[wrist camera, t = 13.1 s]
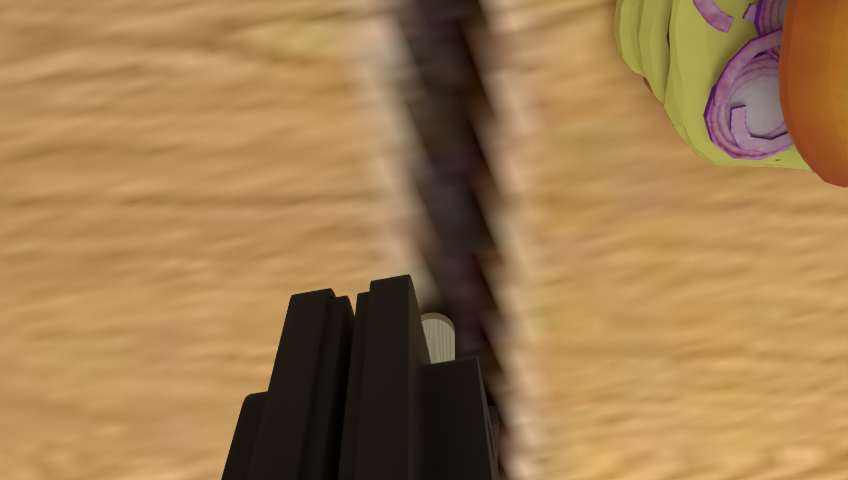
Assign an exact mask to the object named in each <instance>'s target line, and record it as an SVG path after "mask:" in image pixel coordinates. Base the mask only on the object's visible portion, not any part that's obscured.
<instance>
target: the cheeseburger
mask: <svg viewBox="0 0 848 480" xmlns="http://www.w3.org/2000/svg"><path fill="white" fill-rule="evenodd" d="M613 31H614V35H615V39H616V43H617V46H618V50H619V54H620V56H621V58H622V59H623V60H624V61H625V63H626V64H627V65H628V66H629V68H630V69H631V70H632V71H633V72H634V73H636V74H638V75H641V76H643V78H644V81H645V84H646V86H647V87H648V88H649V89H650V90H651V92H652V93H653V94H654V95H655V97H656V98H657V99H658V100H659V101H660V102H661V103H662V104H663V105H664V109H665V111H666V112H667V114H668V116H669V118H670V120H671V122H672V124H673V126H674V128H675V129H676V131H677V132H678V133H679V135H680V136H681V137H682V139H683V140H684V141H685V143H686V144H687V145H688V146H689V147H690V148H691V150H692V151H693V152H694V153H695V154H696V155H697V156H698V157H700V158H702V159H704V160H706V161H708V162H710V163H711V164H713V165H715V166H748V167H782V168H791V169H801V170H811V171H812V172H813V173H817V174H818V175H819V177H821V178H822V179H823V180H824V181H825V182H827V183H830V184H833V185H837V186H841V187H848V0H617V4H616V11H615V18H614V24H613Z"/></svg>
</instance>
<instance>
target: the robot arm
mask: <svg viewBox="0 0 848 480" xmlns="http://www.w3.org/2000/svg"><path fill="white" fill-rule="evenodd" d="M221 480H499V473H498V466H497V459H496V452H495V446H494V439H493V433H492V427H491V422H490V416H489V410H488V405H487V400H486V395H485V390H484V385H483V380H482V375H481V370H480V365H479V361H478V358H477V356H474V357H469V358H463V359H457V360H451V361H445V362H439V363H433V364H431V359H430V355H429V351H428V346H427V342H426V338H425V334H424V329H423V325H422V321H421V316H420V312H419V308H418V303H417V299H416V295H415V291H414V286H413V283H412V279H411V276H410V275H409V274H408V275H402V276H396V277H391V278H385V279H379V280H374V281H371V283H370V292H364V293H359V294H358V295H357V302H356V312H355V316H354V313H353V309H352V306H351V303H350V300H349V298H348V296H341V297H336V296H335V294H334V292H333V290H332V289H331V288H328V289H323V290H317V291H311V292H306V293H300V294H294V295H292V296H291V298H290V302H289V306H288V310H287V314H286V318H285V322H284V327H283V331H282V335H281V339H280V343H279V347H278V351H277V355H276V359H275V363H274V367H273V372H272V376H271V380H270V384H269V388H268V391H266V392H260V393H254V394H250V395H248V396H247V397H246V398H245V400H244V402H243V405H242V408H241V411H240V415H239V419H238V422H237V426H236V429H235V433H234V436H233V440H232V443H231V447H230V450H229V454H228V458H227V461H226V465H225V468H224V472H223V475H222V479H221Z"/></svg>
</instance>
